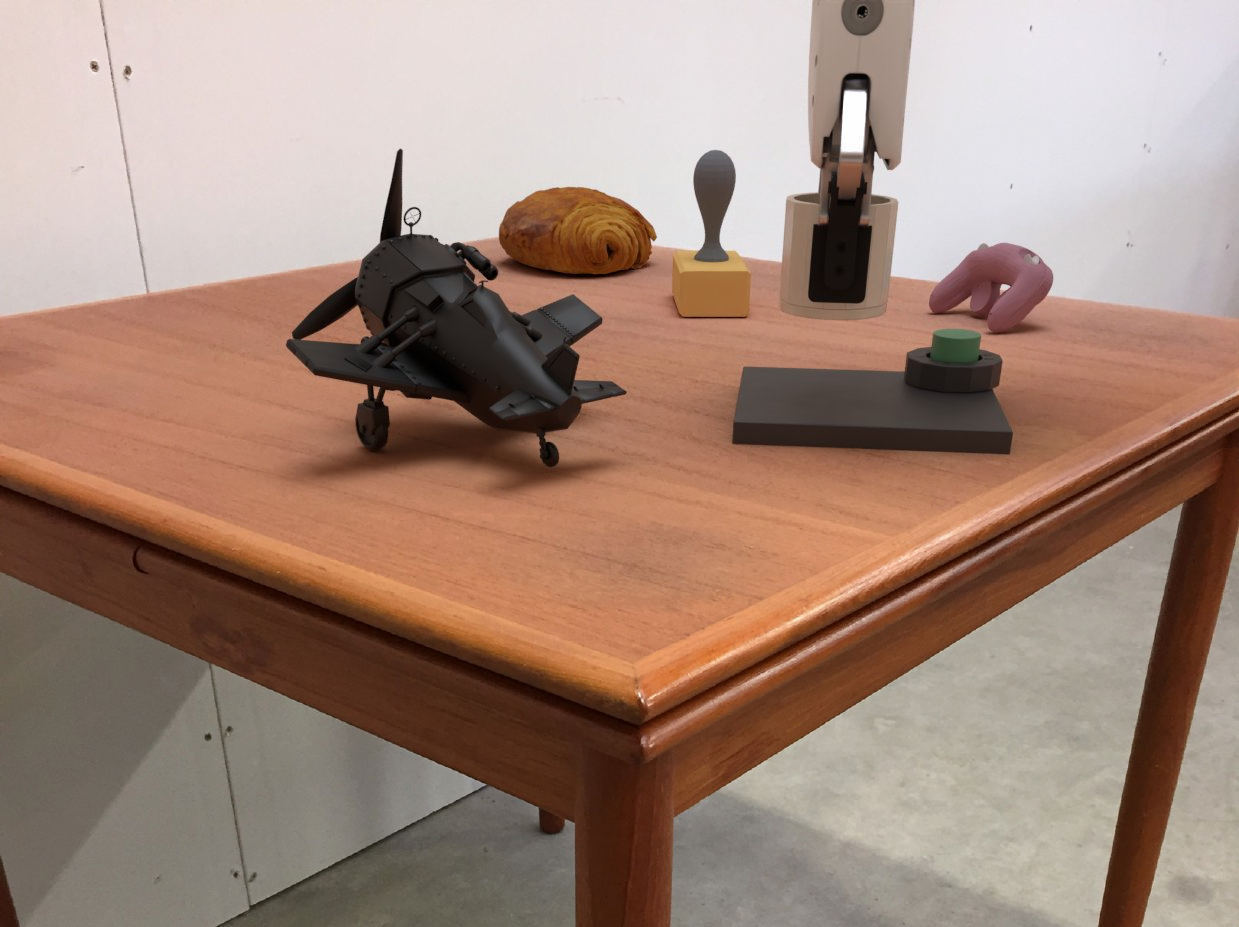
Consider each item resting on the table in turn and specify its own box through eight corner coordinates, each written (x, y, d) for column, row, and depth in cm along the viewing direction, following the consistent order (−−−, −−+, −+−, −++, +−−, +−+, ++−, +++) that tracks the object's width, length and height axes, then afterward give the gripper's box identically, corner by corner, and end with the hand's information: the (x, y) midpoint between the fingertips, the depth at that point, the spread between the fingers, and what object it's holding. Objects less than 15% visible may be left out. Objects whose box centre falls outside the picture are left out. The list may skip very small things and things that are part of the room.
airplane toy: (510, 386, 90) (500, 133, 82) (711, 448, 78) (722, 158, 70) (241, 441, 79) (199, 154, 71) (426, 523, 67) (401, 188, 59)
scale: (989, 394, 89) (995, 347, 88) (1017, 456, 77) (1026, 403, 76) (742, 385, 91) (744, 339, 89) (732, 445, 79) (734, 393, 77)
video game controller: (1028, 351, 107) (1074, 265, 105) (988, 328, 105) (1035, 240, 102) (957, 327, 115) (999, 247, 113) (919, 305, 112) (961, 222, 110)
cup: (883, 301, 82) (894, 193, 79) (888, 322, 76) (901, 207, 73) (779, 298, 82) (787, 191, 79) (777, 318, 77) (785, 204, 74)
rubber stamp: (749, 317, 111) (757, 155, 104) (679, 317, 110) (683, 155, 104) (736, 295, 119) (744, 144, 113) (671, 295, 119) (675, 144, 113)
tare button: (974, 357, 87) (978, 329, 86) (979, 368, 84) (983, 339, 84) (927, 356, 87) (931, 327, 86) (931, 366, 85) (935, 337, 84)
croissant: (547, 306, 125) (548, 215, 120) (479, 257, 135) (477, 171, 130) (680, 288, 131) (687, 201, 126) (605, 242, 141) (608, 160, 136)
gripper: (956, -86, 62) (908, 322, 71) (928, -69, 76) (891, 268, 86) (792, -87, 62) (767, 317, 72) (795, -70, 77) (774, 264, 87)
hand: (835, 287), depth 79 cm, fingers closed on cup, 6 cm apart
